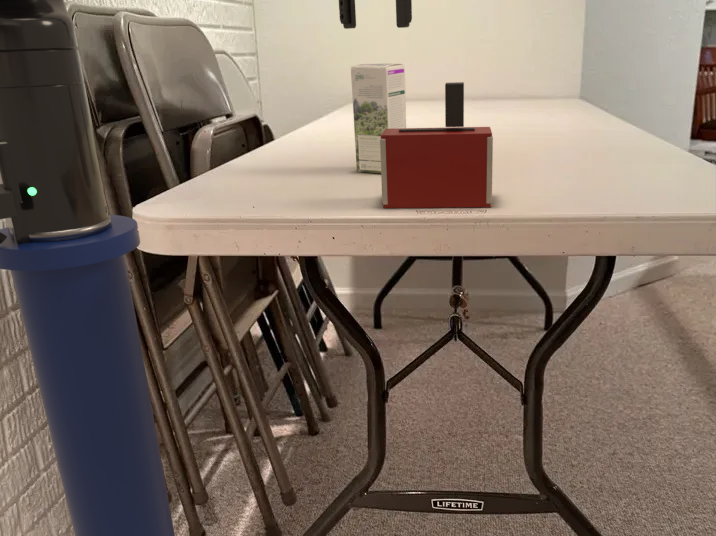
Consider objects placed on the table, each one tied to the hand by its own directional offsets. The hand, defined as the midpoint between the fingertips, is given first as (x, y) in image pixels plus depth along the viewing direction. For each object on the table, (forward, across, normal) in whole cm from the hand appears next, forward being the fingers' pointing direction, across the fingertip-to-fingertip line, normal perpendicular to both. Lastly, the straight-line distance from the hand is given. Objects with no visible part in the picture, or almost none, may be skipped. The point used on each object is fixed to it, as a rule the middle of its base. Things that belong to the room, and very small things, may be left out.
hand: (377, 28), depth 97 cm
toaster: (+19, -7, -22) cm, 30 cm away
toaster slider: (+11, -5, -24) cm, 27 cm away
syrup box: (+19, 0, 0) cm, 19 cm away
